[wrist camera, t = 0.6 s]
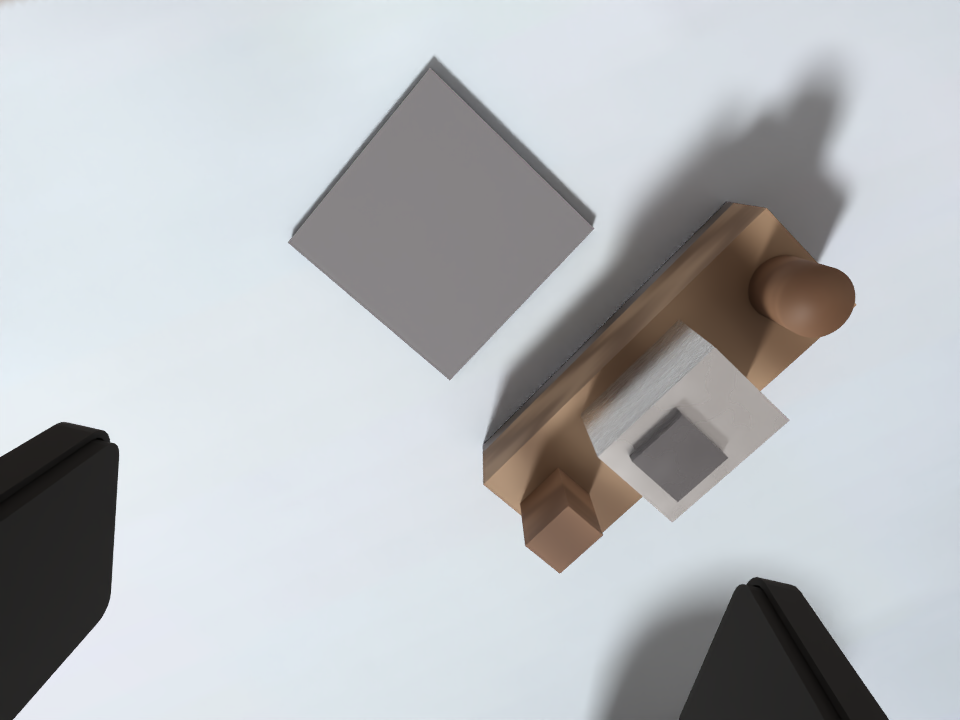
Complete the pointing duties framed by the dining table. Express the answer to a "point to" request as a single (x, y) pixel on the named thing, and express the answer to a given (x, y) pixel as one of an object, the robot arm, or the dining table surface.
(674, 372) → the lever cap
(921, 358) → the dining table surface
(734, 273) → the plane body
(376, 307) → the rubber mat
